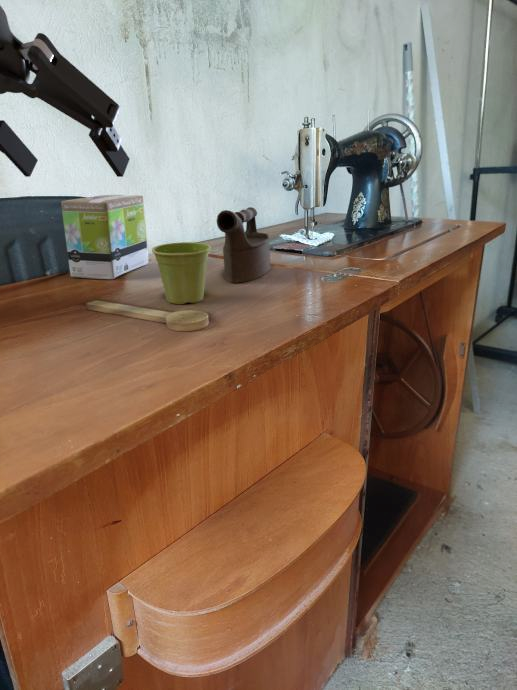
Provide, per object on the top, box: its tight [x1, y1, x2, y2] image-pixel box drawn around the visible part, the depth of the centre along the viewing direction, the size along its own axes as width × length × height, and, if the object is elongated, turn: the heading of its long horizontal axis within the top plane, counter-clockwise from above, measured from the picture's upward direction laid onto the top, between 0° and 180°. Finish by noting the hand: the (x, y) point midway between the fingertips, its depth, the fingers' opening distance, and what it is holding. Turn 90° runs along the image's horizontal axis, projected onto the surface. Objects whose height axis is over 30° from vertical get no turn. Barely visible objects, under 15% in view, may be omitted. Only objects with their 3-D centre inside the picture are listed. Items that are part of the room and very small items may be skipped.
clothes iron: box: [216, 206, 271, 284], centre depth 97 cm, size 8×16×13 cm, turn 164°
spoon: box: [85, 299, 210, 332], centre depth 77 cm, size 22×6×1 cm, turn 61°
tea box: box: [60, 194, 149, 280], centre depth 104 cm, size 15×10×15 cm
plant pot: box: [151, 241, 212, 305], centre depth 84 cm, size 9×9×9 cm
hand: (76, 168), depth 64 cm, fingers open, 13 cm apart
